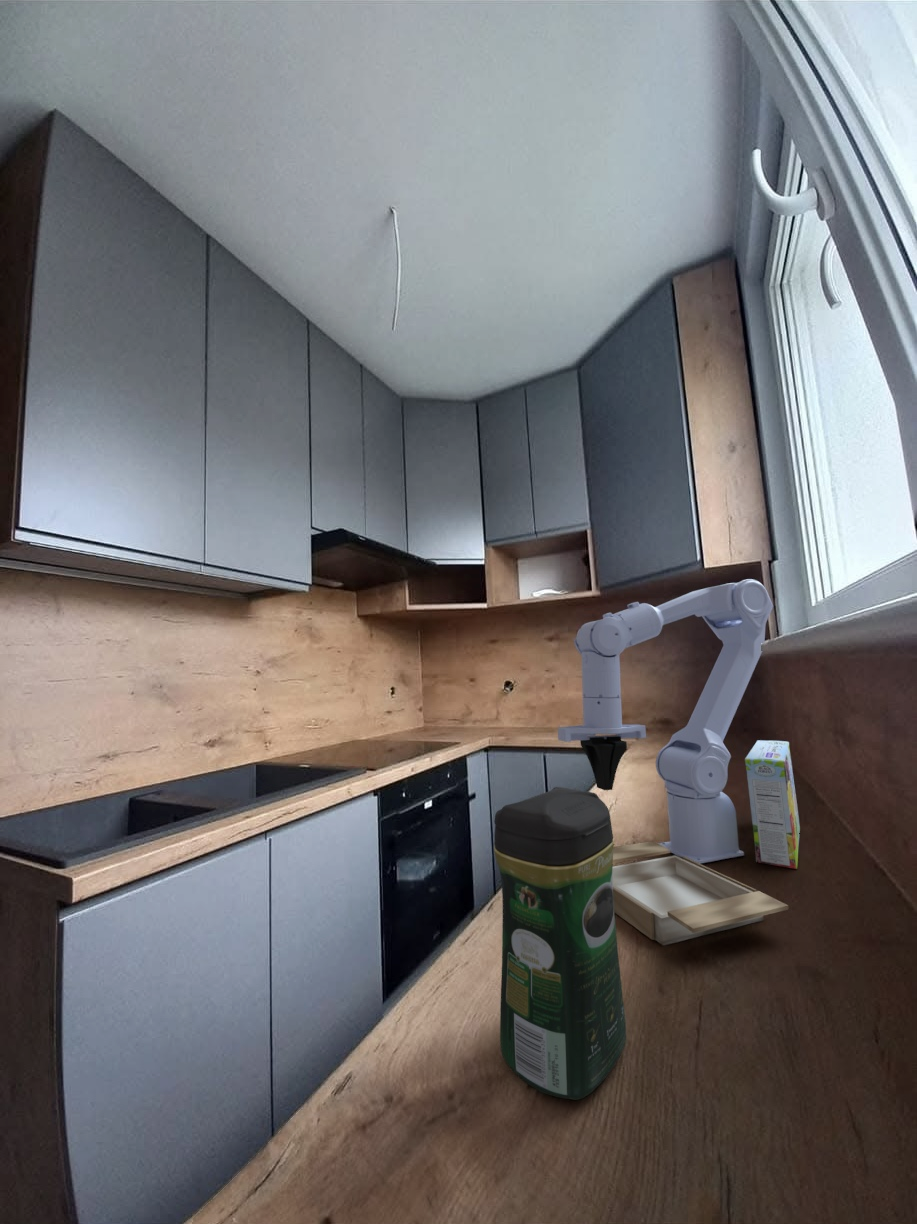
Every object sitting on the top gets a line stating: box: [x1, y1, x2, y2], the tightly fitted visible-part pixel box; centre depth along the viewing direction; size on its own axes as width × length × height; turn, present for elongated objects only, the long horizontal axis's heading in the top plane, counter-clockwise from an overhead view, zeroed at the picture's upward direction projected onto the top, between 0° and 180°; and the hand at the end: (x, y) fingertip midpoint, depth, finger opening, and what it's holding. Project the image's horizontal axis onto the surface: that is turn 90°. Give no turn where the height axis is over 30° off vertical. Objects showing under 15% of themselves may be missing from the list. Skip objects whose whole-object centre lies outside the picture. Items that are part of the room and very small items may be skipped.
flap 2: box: [667, 890, 789, 933], centre depth 51 cm, size 13×1×3 cm
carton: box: [612, 855, 764, 946], centre depth 58 cm, size 15×13×3 cm
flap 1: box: [613, 840, 671, 864], centre depth 66 cm, size 13×1×3 cm
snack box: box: [744, 739, 801, 870], centre depth 78 cm, size 21×6×15 cm, turn 144°
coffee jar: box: [493, 786, 627, 1101], centre depth 37 cm, size 10×8×19 cm
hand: (604, 788), depth 73 cm, fingers closed
